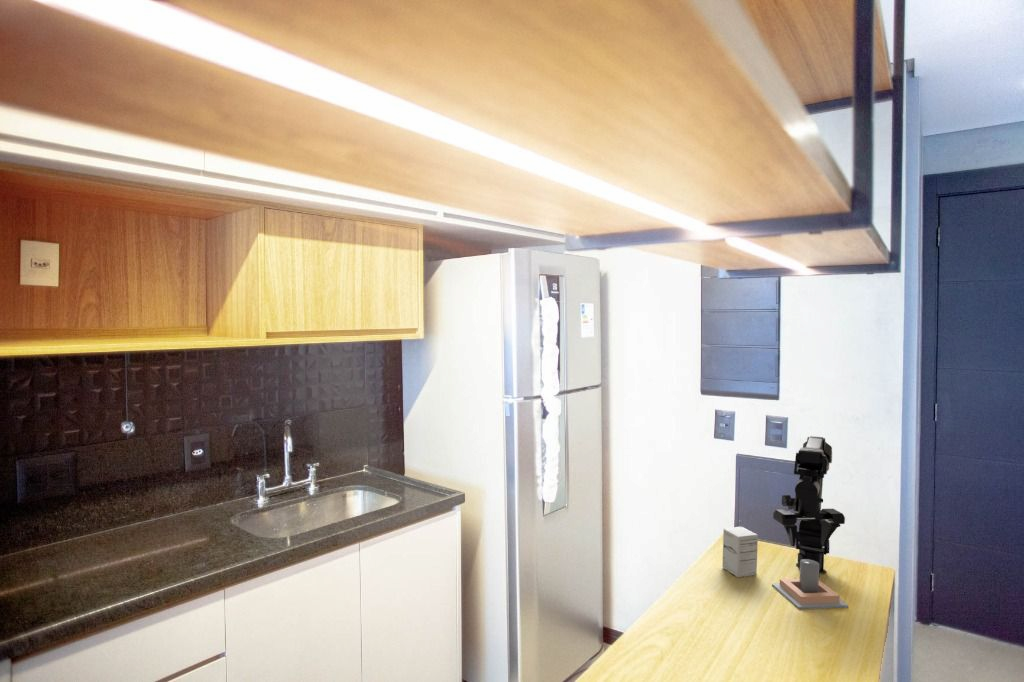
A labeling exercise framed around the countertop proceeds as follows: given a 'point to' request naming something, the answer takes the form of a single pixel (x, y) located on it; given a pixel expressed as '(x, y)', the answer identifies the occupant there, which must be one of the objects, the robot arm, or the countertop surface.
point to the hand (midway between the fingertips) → (807, 545)
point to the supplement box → (740, 551)
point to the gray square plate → (809, 595)
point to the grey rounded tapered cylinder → (809, 576)
